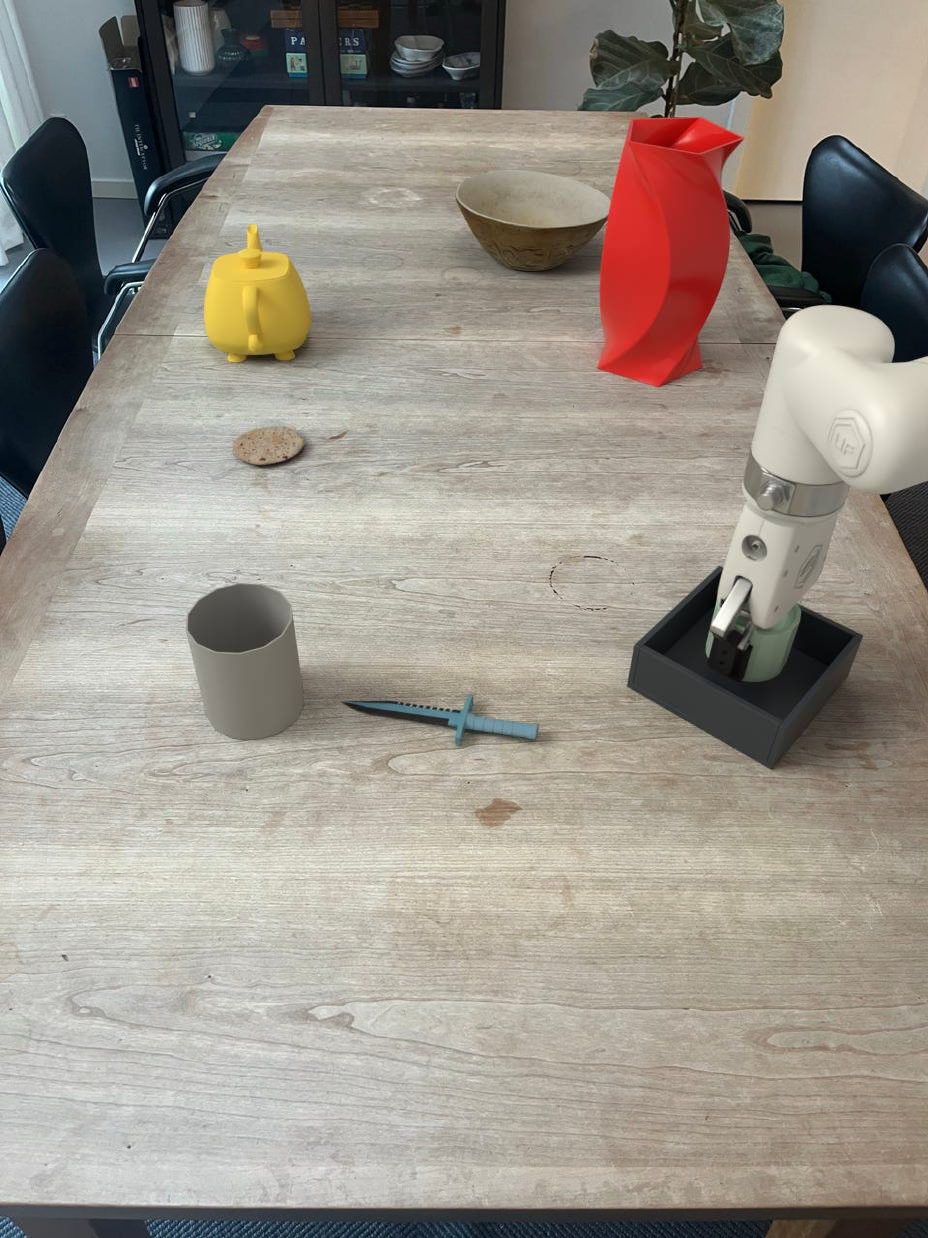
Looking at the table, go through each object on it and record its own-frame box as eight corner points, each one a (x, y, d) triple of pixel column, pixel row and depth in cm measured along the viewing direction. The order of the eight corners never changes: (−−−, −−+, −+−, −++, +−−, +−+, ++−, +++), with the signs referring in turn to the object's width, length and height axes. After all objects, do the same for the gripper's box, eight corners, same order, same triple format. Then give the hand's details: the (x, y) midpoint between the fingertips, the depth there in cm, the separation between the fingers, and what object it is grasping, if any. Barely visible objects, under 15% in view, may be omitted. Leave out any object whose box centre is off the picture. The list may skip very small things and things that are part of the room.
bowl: (615, 237, 162) (623, 173, 156) (595, 299, 145) (602, 230, 139) (474, 222, 166) (475, 159, 159) (438, 280, 149) (438, 212, 142)
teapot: (204, 379, 127) (187, 282, 118) (215, 309, 141) (200, 218, 133) (314, 374, 128) (304, 278, 119) (313, 305, 142) (304, 215, 134)
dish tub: (847, 676, 89) (864, 635, 86) (771, 770, 81) (786, 728, 78) (709, 606, 96) (719, 565, 93) (626, 686, 88) (633, 644, 85)
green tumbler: (799, 651, 87) (815, 604, 83) (761, 694, 83) (776, 647, 79) (730, 616, 90) (742, 569, 86) (690, 656, 86) (701, 608, 82)
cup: (305, 734, 83) (293, 648, 77) (205, 745, 82) (184, 659, 76) (301, 663, 90) (289, 578, 83) (207, 673, 89) (188, 587, 82)
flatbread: (239, 472, 111) (238, 465, 111) (229, 437, 116) (227, 430, 116) (311, 460, 113) (311, 452, 113) (297, 426, 118) (297, 418, 118)
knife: (330, 718, 84) (349, 676, 88) (332, 727, 85) (350, 686, 88) (532, 747, 81) (542, 703, 84) (532, 757, 82) (542, 712, 85)
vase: (614, 325, 139) (640, 108, 120) (717, 344, 135) (761, 123, 117) (583, 375, 129) (607, 145, 110) (694, 397, 125) (739, 163, 106)
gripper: (788, 553, 67) (735, 728, 79) (893, 447, 77) (832, 618, 89) (691, 509, 71) (655, 683, 83) (804, 413, 81) (757, 581, 93)
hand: (747, 648), depth 86 cm, fingers closed on green tumbler, 6 cm apart
